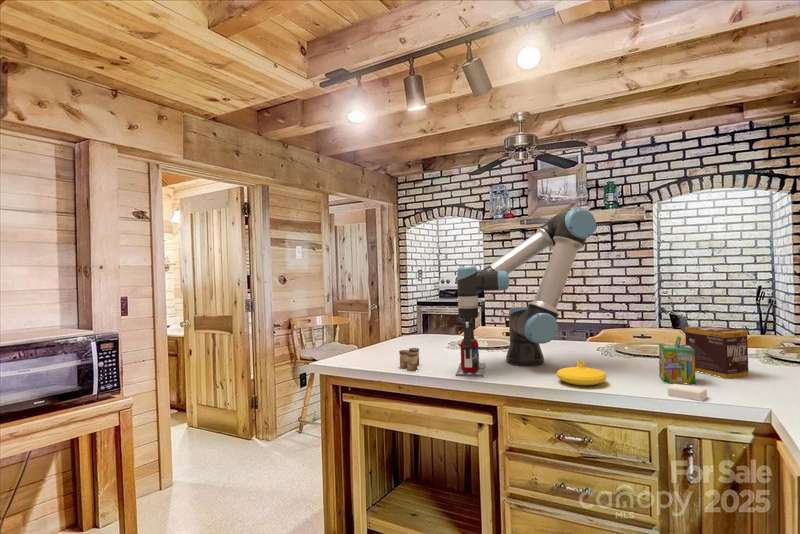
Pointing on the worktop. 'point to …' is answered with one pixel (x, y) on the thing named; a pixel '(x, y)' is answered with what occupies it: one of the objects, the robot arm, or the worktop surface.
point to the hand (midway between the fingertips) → (469, 363)
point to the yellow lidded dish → (581, 375)
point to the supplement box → (719, 350)
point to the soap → (687, 392)
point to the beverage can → (474, 357)
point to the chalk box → (677, 363)
